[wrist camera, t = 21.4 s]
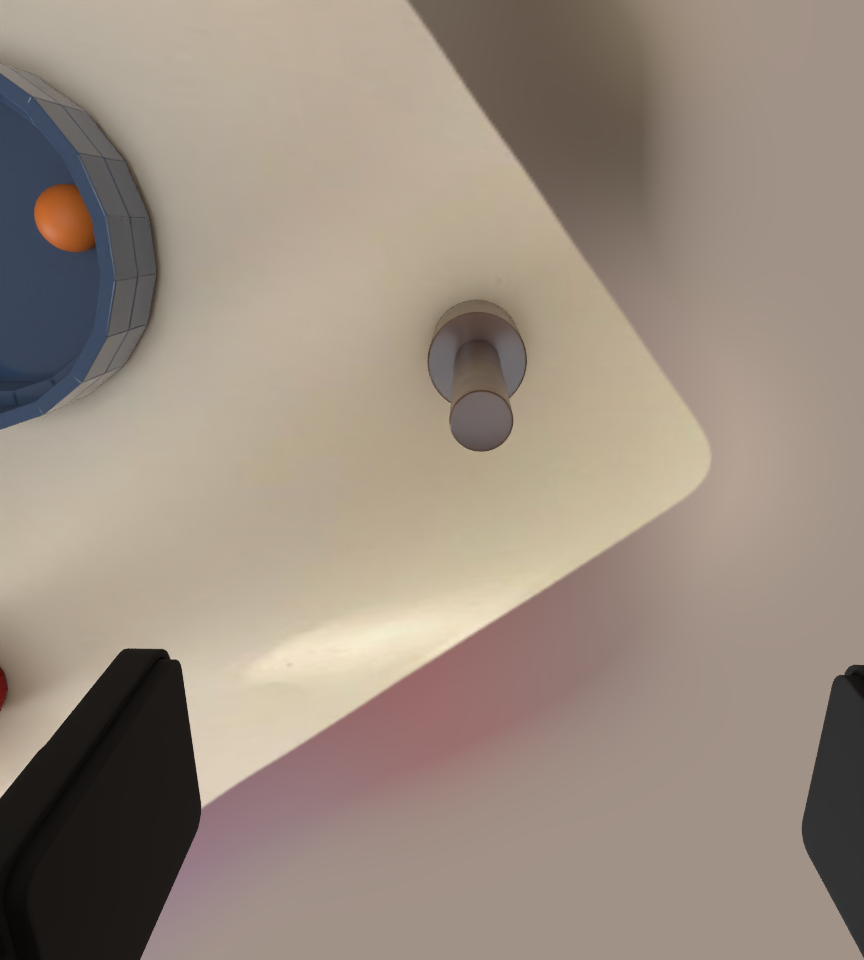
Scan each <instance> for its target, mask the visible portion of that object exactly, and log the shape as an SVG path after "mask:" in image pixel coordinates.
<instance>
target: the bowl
mask: <svg viewBox="0 0 864 960" xmlns="http://www.w3.org/2000/svg"><path fill="white" fill-rule="evenodd" d="M57 184H73V185H76V186H77V188H78V190H79V192H80V194H81V197H82V199H83V201H84V203H85V205H86V208H87V210H88V212H89V214H90V216H91V219H92V224H93V231H94V237H95V244H96V246H95V247H93V248H92V249H90V250H87V251H84V252H68V251H64V250H61V249H59V248H57V247H55V246H53V245H52V244H51V243H49V242H48V241H47V240H46V239H45V238H44V237H43V235H42V234H41V233H40V231H39V229H38V227H37V225H36V222H35V217H34V209H35V204H36V201H37V199H38V197H39V196H40V195H41V193H42V192H43V191H44V190H46V189H47V188H49V187H51V186H54V185H57ZM148 217H149V216H148V213H147V211H146V209H145V206H144V204H143V202H142V199H141V197H140V195H139V192H138V190H137V188H136V185H135V183H134V181H133V178H132V176H131V174H130V171H129V169H128V167H127V164H126V163H125V160H124V159H123V158H122V156H121V155H120V154H119V153H118V151H117V150H116V149H115V148H114V146H113V145H112V144H111V143H110V141H109V140H108V139H107V138H106V136H105V135H104V134H103V132H102V131H101V130H100V129H99V127H98V126H97V125H96V124H95V122H94V121H93V120H92V119H91V117H90V116H89V115H88V114H87V113H86V112H85V111H84V110H83V109H81V108H80V107H79V106H77V105H76V104H74V103H73V102H72V101H70V100H69V99H67V98H66V97H65V96H63V95H62V94H61V93H59V92H58V91H56V90H55V89H54V88H52V87H51V86H50V85H48V84H47V83H45V82H44V81H43V80H41V79H40V78H39V77H37V76H35V75H33V74H31V73H28V72H25V71H22V70H19V69H16V68H13V67H10V66H7V65H4V64H1V63H0V430H1V429H4V428H7V427H10V426H13V425H16V424H19V423H22V422H24V421H27V420H30V419H33V418H36V417H39V416H42V415H45V414H47V413H49V412H51V411H53V410H56V409H58V408H60V407H62V406H64V405H67V404H69V403H71V402H73V401H75V400H77V399H79V398H82V397H84V396H86V395H88V394H90V393H91V392H92V391H94V390H95V389H96V388H97V387H99V386H100V385H101V384H102V383H103V382H105V381H106V380H107V379H108V378H109V377H111V376H112V375H113V374H114V373H116V372H117V371H118V370H119V369H120V368H122V367H123V365H124V364H125V363H126V361H127V360H128V358H129V356H130V354H131V352H132V351H133V349H134V347H135V345H136V344H137V342H138V340H139V338H140V337H141V335H142V333H143V331H144V330H145V328H146V326H147V323H148V318H149V312H150V307H151V301H152V295H153V290H154V284H155V279H156V274H155V273H156V266H155V258H154V250H153V243H152V235H151V227H150V219H149V218H148Z"/></svg>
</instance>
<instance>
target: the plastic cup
mask: <svg viewBox="0 0 864 960" xmlns="http://www.w3.org/2000/svg"><path fill="white" fill-rule="evenodd" d="M6 692H7V685H6V681H5V677H4V673H3V672H2V670H1V669H0V711H1V707H2V704H3V703H4V700H5V696H6Z"/></svg>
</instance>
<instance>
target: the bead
mask: <svg viewBox="0 0 864 960" xmlns="http://www.w3.org/2000/svg"><path fill="white" fill-rule="evenodd" d="M34 217H35V222H36V225H37V227H38V229H39V231H40V233H41V234H42V235H43V237H44V238H45V239H46V240H47V241H48V242H49V243H51V244H52V245H53V246H55V247H57V248H59V249H61V250H64V251H68V252H84V251H87V250H90V249H92V248H93V247H95V246H96V244H95V237H94V231H93V224H92V219H91V216H90V214H89V212H88V210H87V208H86V205H85V203H84V201H83V199H82V197H81V194H80V192H79V190H78V188H77V186H76V185H73V184H57V185H54V186H51V187H49V188H47V189H46V190H44V191H43V192H42V193H41V195H40V196H39V197H38V199H37V201H36V204H35V209H34Z"/></svg>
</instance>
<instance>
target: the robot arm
mask: <svg viewBox="0 0 864 960" xmlns="http://www.w3.org/2000/svg"><path fill="white" fill-rule="evenodd" d="M200 815H201V800H200V793H199V786H198V779H197V772H196V765H195V758H194V751H193V744H192V737H191V731H190V724H189V717H188V710H187V703H186V696H185V689H184V682H183V675H182V668H181V664H180V663H179V661H178V660H170V657H169V654H168V653H167V651H165V650H164V649H129V648H128V649H123V650H122V651H121V652H120V653H119V654H118V655H117V657H116V658H115V659H114V660H113V662H112V663H111V664H110V665H109V667H108V668H107V669H106V670H105V672H104V673H103V674H102V675H101V677H100V678H99V679H98V680H97V682H96V683H95V684H94V685H93V687H92V688H91V689H90V690H89V691H88V693H87V694H86V695H85V696H84V698H83V699H82V700H81V701H80V703H79V704H78V705H77V706H76V708H75V709H74V710H73V711H72V713H71V714H70V715H69V716H68V718H67V719H66V720H65V721H64V723H63V724H62V725H61V726H60V727H59V729H58V730H57V731H56V732H55V734H54V735H53V736H52V737H51V739H50V740H49V741H48V742H47V744H46V745H45V746H44V747H42V748H41V749H40V750H39V751H38V752H37V754H36V755H35V756H34V757H33V759H32V760H31V761H30V762H29V764H28V765H27V766H26V767H25V769H24V770H23V771H22V772H21V773H20V775H19V776H18V777H17V778H16V780H15V781H14V782H13V783H12V785H11V786H10V787H9V788H8V790H7V791H6V792H5V793H4V795H3V796H2V797H1V798H0V960H140V958H141V956H142V954H143V952H144V949H145V947H146V945H147V943H148V940H149V938H150V936H151V933H152V931H153V929H154V927H155V925H156V922H157V920H158V918H159V915H160V913H161V911H162V909H163V906H164V904H165V902H166V900H167V898H168V895H169V893H170V891H171V888H172V886H173V884H174V882H175V879H176V877H177V875H178V872H179V870H180V868H181V866H182V864H183V861H184V859H185V857H186V855H187V852H188V850H189V848H190V846H191V843H192V841H193V839H194V837H195V834H196V832H197V829H198V826H199V822H200ZM802 836H803V842H804V845H805V848H806V850H807V853H808V855H809V857H810V859H811V861H812V862H813V864H814V866H815V868H816V870H817V871H818V873H819V875H820V877H821V879H822V881H823V883H824V884H825V887H826V888H827V890H828V892H829V894H830V896H831V898H832V900H833V901H834V903H835V905H836V907H837V909H838V911H839V913H840V914H841V916H842V918H843V920H844V922H845V924H846V925H847V927H848V929H849V931H850V933H851V935H852V937H853V938H854V940H855V942H856V944H857V946H858V948H859V950H860V952H861V953H862V955H863V957H864V665H853V666H850V667H849V668H848V669H847V670H846V672H845V675H839V676H837V677H836V678H835V679H834V681H833V684H832V688H831V693H830V698H829V702H828V707H827V711H826V716H825V720H824V725H823V730H822V734H821V739H820V744H819V748H818V752H817V757H816V762H815V766H814V771H813V775H812V780H811V784H810V789H809V794H808V798H807V803H806V808H805V812H804V816H803V821H802Z"/></svg>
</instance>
